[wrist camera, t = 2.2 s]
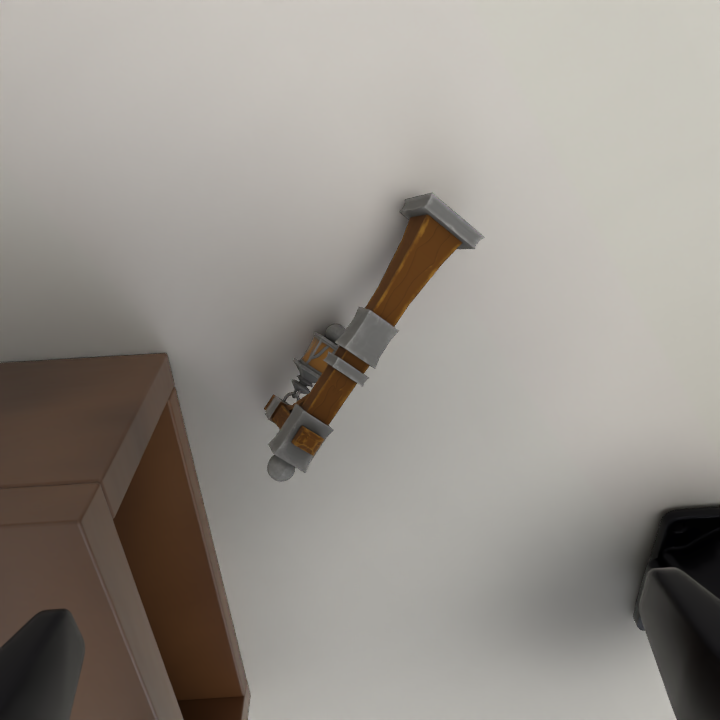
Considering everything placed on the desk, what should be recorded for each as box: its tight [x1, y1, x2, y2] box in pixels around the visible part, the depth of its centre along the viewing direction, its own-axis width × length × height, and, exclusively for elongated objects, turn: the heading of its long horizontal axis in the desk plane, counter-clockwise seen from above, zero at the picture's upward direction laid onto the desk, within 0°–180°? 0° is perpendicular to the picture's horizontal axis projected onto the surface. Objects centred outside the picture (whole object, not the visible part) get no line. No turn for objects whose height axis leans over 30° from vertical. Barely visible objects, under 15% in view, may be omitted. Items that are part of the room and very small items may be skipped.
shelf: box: [0, 353, 251, 720], centre depth 18 cm, size 10×18×8 cm, turn 3°
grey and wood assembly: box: [264, 193, 485, 481], centre depth 16 cm, size 2×8×4 cm, turn 141°
